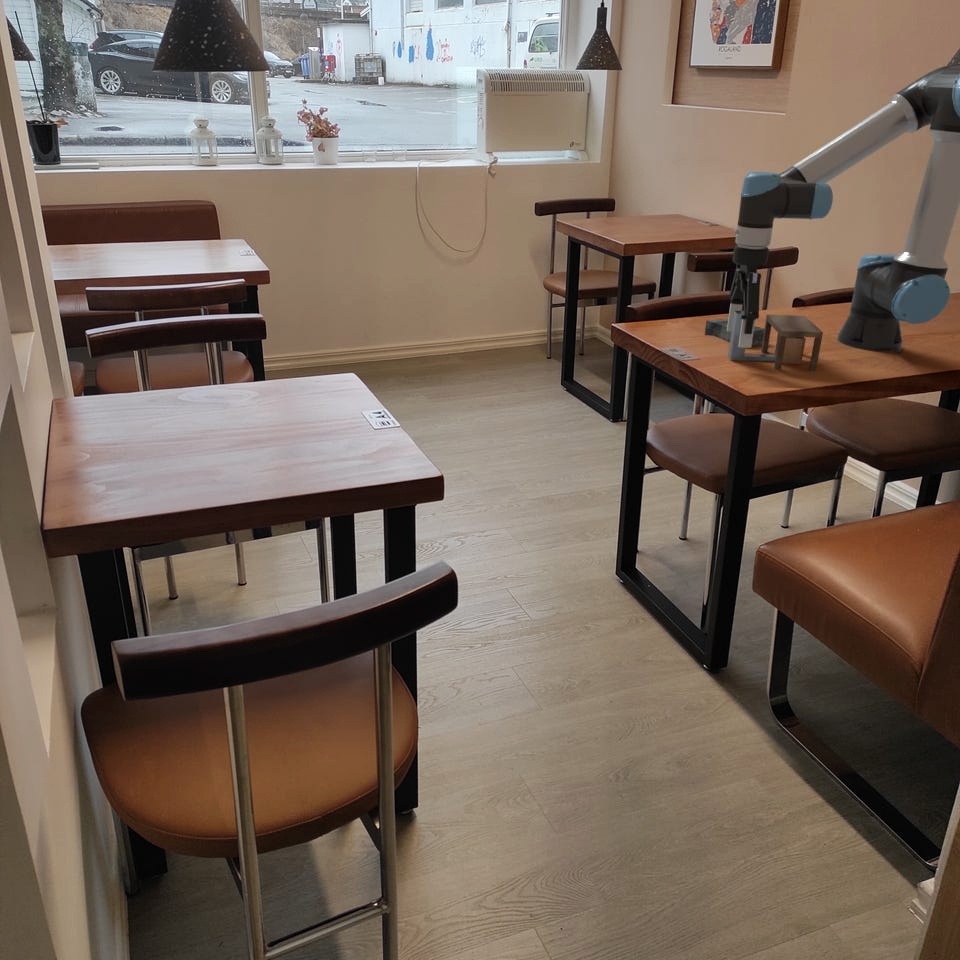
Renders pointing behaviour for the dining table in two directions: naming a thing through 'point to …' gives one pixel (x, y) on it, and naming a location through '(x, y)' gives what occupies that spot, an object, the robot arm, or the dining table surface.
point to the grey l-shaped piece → (791, 354)
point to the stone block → (720, 331)
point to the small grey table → (793, 328)
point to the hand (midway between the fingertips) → (738, 339)
